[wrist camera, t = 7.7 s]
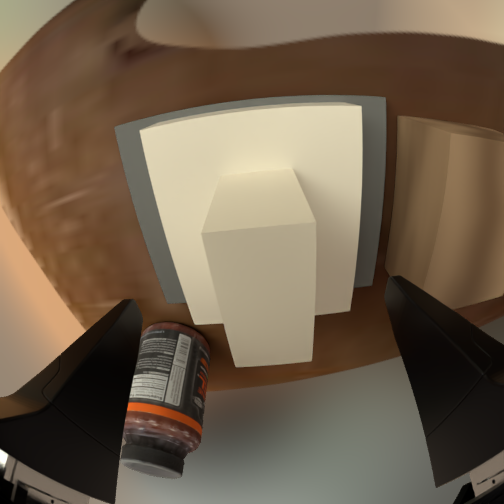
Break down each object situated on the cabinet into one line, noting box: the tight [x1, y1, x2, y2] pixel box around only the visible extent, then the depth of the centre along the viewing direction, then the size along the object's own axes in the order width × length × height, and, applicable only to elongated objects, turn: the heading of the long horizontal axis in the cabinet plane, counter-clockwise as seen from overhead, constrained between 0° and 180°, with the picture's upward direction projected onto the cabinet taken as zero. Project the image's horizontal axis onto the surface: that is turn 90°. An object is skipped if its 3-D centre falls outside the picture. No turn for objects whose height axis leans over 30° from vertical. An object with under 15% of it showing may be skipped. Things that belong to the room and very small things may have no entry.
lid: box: [140, 102, 362, 367], centre depth 12 cm, size 9×11×8 cm
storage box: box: [384, 116, 504, 310], centre depth 13 cm, size 8×10×5 cm
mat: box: [114, 95, 386, 304], centre depth 16 cm, size 14×12×1 cm
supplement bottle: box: [120, 322, 210, 479], centre depth 17 cm, size 6×6×11 cm
